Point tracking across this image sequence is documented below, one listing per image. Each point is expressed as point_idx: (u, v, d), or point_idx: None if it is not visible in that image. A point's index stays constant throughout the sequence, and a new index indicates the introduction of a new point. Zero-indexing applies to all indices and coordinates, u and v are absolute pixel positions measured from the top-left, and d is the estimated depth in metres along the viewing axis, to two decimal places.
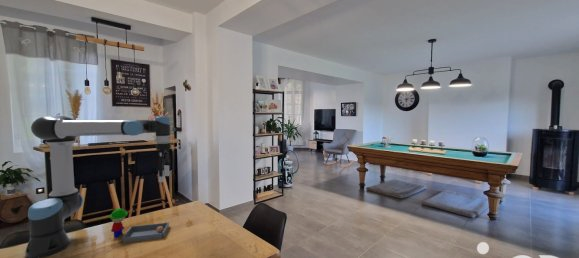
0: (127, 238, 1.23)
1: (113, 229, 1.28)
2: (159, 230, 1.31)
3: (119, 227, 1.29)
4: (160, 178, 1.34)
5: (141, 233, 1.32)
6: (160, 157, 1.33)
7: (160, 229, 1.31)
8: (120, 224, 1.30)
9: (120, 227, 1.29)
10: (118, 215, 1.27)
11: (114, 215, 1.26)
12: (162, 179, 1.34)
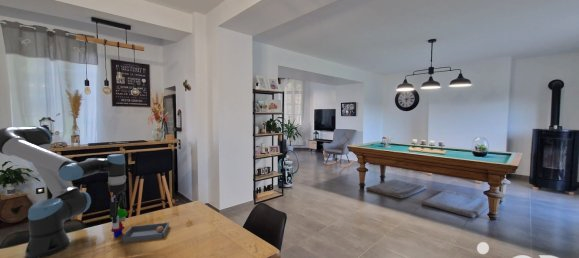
0: (127, 238, 1.23)
1: (113, 229, 1.28)
2: (159, 230, 1.31)
3: (119, 227, 1.29)
4: (114, 224, 1.25)
5: (141, 233, 1.32)
6: (112, 203, 1.23)
7: (160, 229, 1.31)
8: (120, 224, 1.30)
9: (120, 227, 1.29)
10: (118, 215, 1.27)
11: None
12: (116, 225, 1.25)
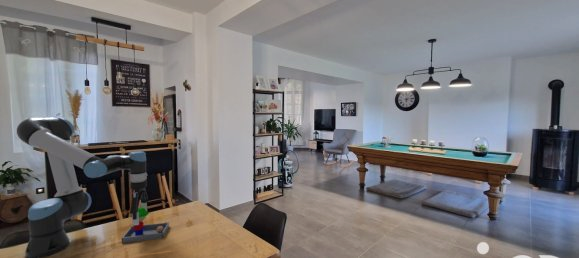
0: (127, 238, 1.23)
1: (134, 228, 1.27)
2: (159, 230, 1.31)
3: (141, 226, 1.29)
4: (134, 221, 1.23)
5: None
6: (134, 198, 1.22)
7: (160, 229, 1.31)
8: (141, 223, 1.30)
9: (141, 226, 1.29)
10: (140, 214, 1.27)
11: None
12: (136, 222, 1.23)
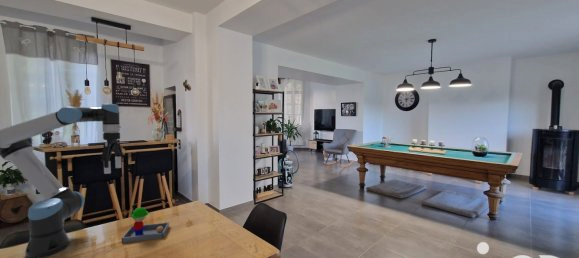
0: (127, 238, 1.23)
1: (134, 228, 1.28)
2: (159, 230, 1.31)
3: (141, 226, 1.29)
4: (106, 169, 1.26)
5: None
6: (105, 147, 1.25)
7: (160, 229, 1.31)
8: (141, 223, 1.30)
9: (141, 226, 1.29)
10: (140, 214, 1.27)
11: (136, 214, 1.26)
12: (108, 170, 1.26)
